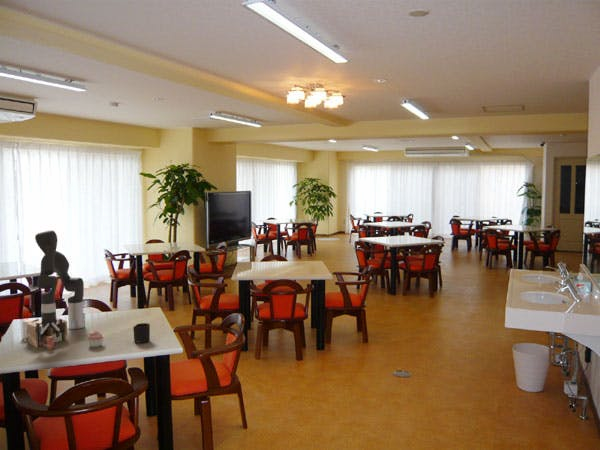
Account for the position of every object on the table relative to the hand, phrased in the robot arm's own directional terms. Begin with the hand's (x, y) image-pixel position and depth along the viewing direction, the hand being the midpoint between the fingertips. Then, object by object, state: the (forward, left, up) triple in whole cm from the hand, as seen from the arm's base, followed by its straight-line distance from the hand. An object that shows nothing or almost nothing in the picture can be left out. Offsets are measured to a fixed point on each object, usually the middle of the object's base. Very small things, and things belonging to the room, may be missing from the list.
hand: (49, 338), depth 302 cm
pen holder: (-44, +25, -6) cm, 51 cm away
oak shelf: (-5, -17, -6) cm, 18 cm away
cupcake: (-21, +13, -6) cm, 25 cm away
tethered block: (0, -7, -6) cm, 10 cm away
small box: (-2, -36, -6) cm, 36 cm away
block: (-9, -15, -6) cm, 18 cm away
